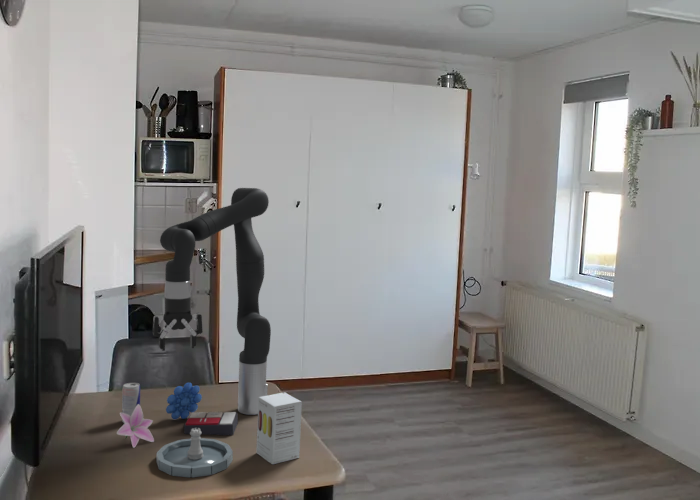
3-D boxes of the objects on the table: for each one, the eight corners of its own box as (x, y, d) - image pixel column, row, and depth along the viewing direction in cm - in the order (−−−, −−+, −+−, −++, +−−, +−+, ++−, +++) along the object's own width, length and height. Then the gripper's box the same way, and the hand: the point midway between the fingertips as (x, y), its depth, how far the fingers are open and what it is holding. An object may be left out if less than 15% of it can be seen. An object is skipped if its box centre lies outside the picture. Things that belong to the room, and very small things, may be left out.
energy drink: (142, 419, 214) (143, 383, 213) (135, 425, 209) (136, 388, 208) (126, 418, 215) (127, 381, 213) (119, 424, 209) (119, 386, 208)
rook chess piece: (188, 453, 187) (188, 426, 186) (204, 454, 188) (205, 426, 187) (185, 460, 183) (186, 432, 182) (202, 460, 183) (203, 432, 182)
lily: (109, 453, 190) (122, 428, 187) (106, 424, 199) (118, 400, 196) (149, 458, 196) (162, 434, 194) (144, 430, 206) (157, 407, 203)
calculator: (190, 411, 215) (237, 410, 215) (191, 424, 215) (238, 423, 216) (183, 423, 204) (232, 422, 204) (183, 437, 204) (233, 436, 205)
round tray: (223, 443, 198) (223, 435, 198) (238, 471, 180) (239, 462, 180) (153, 451, 190) (153, 442, 190) (162, 481, 172) (162, 472, 172)
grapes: (197, 412, 223) (198, 377, 222) (203, 418, 217) (204, 383, 216) (162, 417, 217) (162, 381, 216) (167, 424, 211) (168, 387, 210)
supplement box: (255, 453, 192) (257, 396, 191) (282, 446, 198) (284, 391, 196) (272, 465, 185) (274, 406, 183) (300, 458, 190) (302, 400, 189)
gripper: (199, 292, 204) (198, 344, 206) (151, 294, 198) (151, 347, 200) (204, 296, 197) (204, 350, 199) (154, 299, 191) (154, 354, 193)
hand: (177, 348), depth 199 cm, fingers open, 8 cm apart
